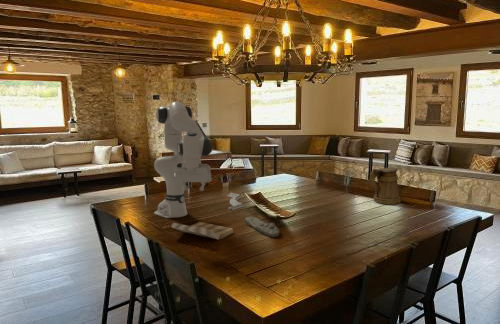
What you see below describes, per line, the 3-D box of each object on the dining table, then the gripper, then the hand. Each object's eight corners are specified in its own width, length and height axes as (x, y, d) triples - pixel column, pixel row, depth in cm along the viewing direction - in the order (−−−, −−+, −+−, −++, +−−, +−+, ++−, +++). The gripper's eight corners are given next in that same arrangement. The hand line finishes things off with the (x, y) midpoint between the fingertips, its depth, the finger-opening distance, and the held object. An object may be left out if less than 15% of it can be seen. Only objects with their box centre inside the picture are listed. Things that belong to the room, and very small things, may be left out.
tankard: (405, 204, 276) (407, 169, 272) (376, 206, 270) (378, 171, 266) (390, 197, 293) (392, 165, 289) (362, 200, 287) (364, 167, 283)
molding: (227, 196, 305) (227, 192, 305) (242, 195, 306) (242, 191, 305) (228, 211, 263) (227, 207, 263) (245, 210, 264) (245, 206, 264)
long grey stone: (255, 221, 243) (241, 224, 239) (254, 213, 243) (240, 216, 238) (285, 235, 212) (269, 239, 208) (284, 226, 212) (268, 230, 207)
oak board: (186, 231, 221) (186, 227, 220) (199, 225, 231) (199, 221, 230) (220, 239, 208) (220, 234, 208) (232, 232, 218) (232, 228, 218)
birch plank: (171, 227, 210) (172, 222, 210) (184, 232, 219) (185, 227, 220) (206, 234, 197) (207, 229, 198) (218, 239, 207) (219, 235, 207)
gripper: (213, 163, 199) (214, 189, 200) (179, 163, 207) (180, 189, 208) (207, 164, 193) (208, 191, 194) (172, 164, 201) (174, 190, 202)
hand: (193, 190), depth 201 cm, fingers open, 8 cm apart
